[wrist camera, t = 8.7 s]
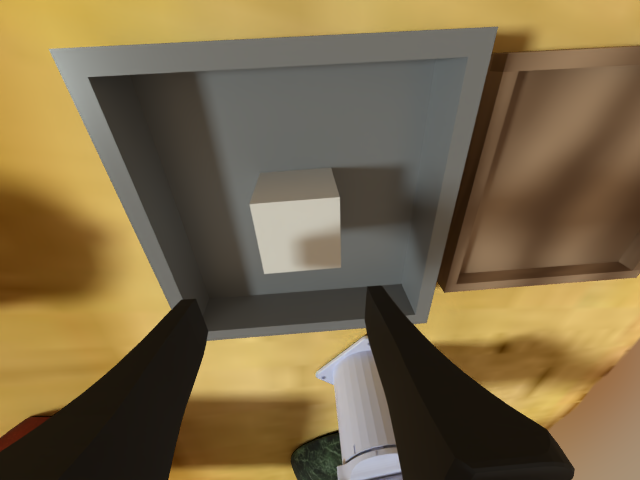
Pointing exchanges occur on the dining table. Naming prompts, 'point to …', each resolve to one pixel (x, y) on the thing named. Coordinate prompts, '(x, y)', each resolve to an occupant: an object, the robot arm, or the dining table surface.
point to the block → (297, 220)
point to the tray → (550, 173)
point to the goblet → (318, 459)
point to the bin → (286, 162)
